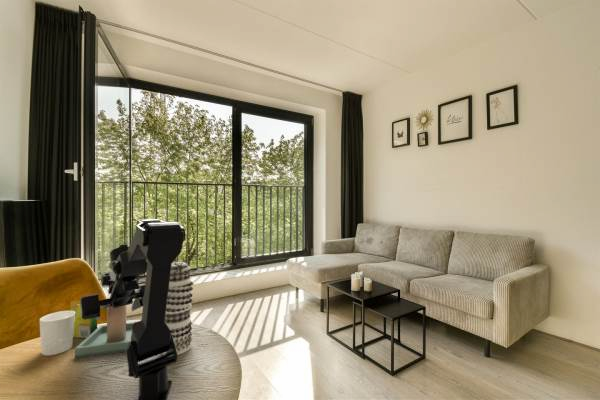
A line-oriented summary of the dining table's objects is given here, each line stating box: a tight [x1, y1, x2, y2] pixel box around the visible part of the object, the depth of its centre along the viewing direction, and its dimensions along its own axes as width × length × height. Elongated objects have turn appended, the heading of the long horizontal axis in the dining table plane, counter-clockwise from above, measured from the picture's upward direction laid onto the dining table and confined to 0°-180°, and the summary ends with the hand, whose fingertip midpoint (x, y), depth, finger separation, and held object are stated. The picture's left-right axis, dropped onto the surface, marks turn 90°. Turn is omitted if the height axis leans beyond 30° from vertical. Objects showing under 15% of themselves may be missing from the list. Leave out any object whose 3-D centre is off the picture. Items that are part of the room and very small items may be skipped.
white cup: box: [39, 310, 75, 357], centre depth 80 cm, size 8×8×10 cm
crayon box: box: [70, 300, 98, 339], centre depth 89 cm, size 7×3×12 cm, turn 81°
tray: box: [74, 321, 136, 359], centre depth 85 cm, size 15×15×3 cm
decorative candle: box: [161, 261, 194, 356], centre depth 81 cm, size 9×9×25 cm
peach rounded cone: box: [106, 305, 127, 343], centre depth 85 cm, size 5×5×12 cm
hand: (115, 313), depth 86 cm, fingers open, 9 cm apart
